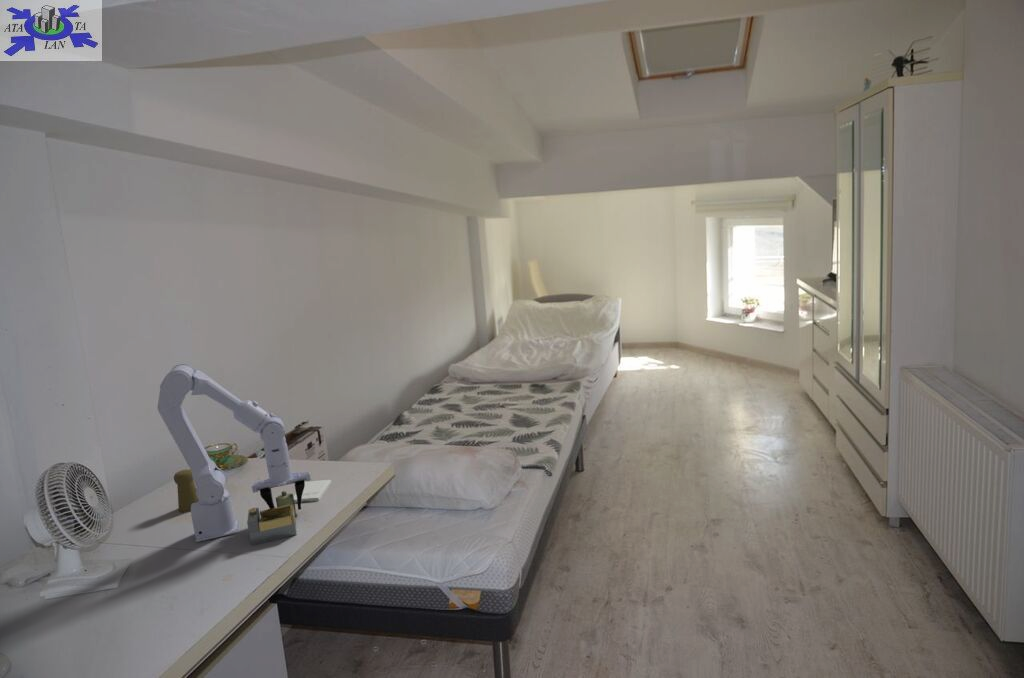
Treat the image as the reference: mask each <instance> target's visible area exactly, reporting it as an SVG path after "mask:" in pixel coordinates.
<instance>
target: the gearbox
mask: <svg viewBox="0 0 1024 678" xmlns="http://www.w3.org/2000/svg"><path fill="white" fill-rule="evenodd" d="M246 521H247V522H246V523H247V524H246V525H247V529H248V533H249V534H248V535H249V539H250V540H249V541H250V545H251V546H254V545H258V544H263V543H268V542H272V541H276V540H280V539H285V538H289V537H293V536H297V520H296V516H295V514H294V508H293V504H290V505H285V506H281V507H277V506H276V507H275V508H272V509H270V508H269V509H268V508H267V509H263V510H260V509H259V507H253V508H250V509H248V513H247V520H246Z"/></svg>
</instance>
